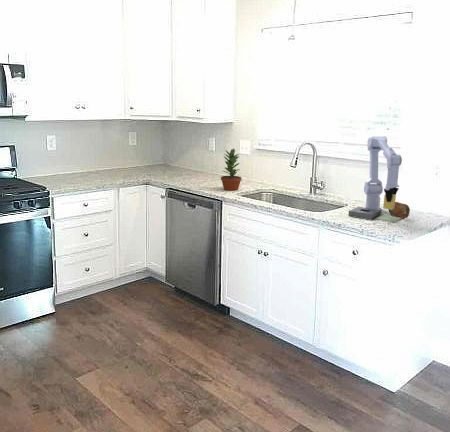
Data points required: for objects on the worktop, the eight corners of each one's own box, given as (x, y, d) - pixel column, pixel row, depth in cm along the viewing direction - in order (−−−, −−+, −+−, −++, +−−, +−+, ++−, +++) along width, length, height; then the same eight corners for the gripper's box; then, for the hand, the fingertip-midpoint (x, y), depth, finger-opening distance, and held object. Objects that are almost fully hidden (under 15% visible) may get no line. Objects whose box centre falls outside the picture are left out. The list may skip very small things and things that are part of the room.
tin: (387, 214, 302) (388, 200, 300) (391, 213, 303) (392, 199, 301) (405, 220, 289) (407, 205, 287) (409, 219, 290) (411, 205, 288)
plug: (385, 207, 292) (387, 193, 290) (394, 208, 289) (395, 194, 287) (383, 208, 289) (384, 194, 287) (391, 209, 286) (393, 195, 284)
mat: (382, 215, 298) (382, 214, 298) (401, 218, 292) (401, 217, 291) (375, 219, 289) (375, 218, 289) (394, 222, 283) (394, 221, 283)
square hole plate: (358, 211, 307) (358, 206, 306) (381, 215, 299) (381, 210, 298) (348, 215, 296) (348, 210, 295) (371, 219, 288) (372, 214, 287)
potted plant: (233, 186, 376) (234, 145, 369) (245, 190, 364) (246, 147, 357) (215, 188, 368) (216, 146, 361) (227, 192, 356) (228, 148, 349)
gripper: (395, 179, 277) (392, 204, 280) (404, 176, 288) (401, 200, 291) (382, 177, 281) (380, 202, 284) (391, 174, 292) (389, 198, 295)
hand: (390, 201), depth 288 cm, fingers closed on plug, 4 cm apart
